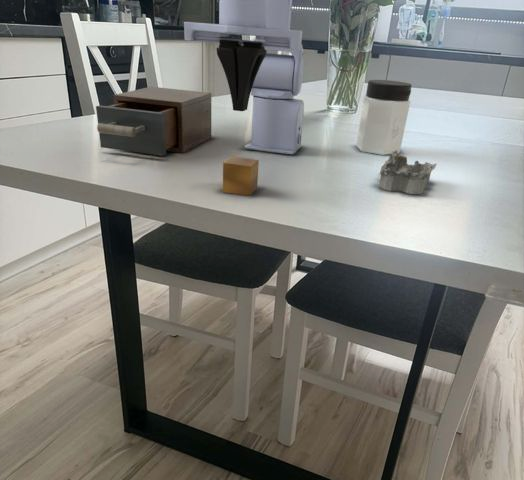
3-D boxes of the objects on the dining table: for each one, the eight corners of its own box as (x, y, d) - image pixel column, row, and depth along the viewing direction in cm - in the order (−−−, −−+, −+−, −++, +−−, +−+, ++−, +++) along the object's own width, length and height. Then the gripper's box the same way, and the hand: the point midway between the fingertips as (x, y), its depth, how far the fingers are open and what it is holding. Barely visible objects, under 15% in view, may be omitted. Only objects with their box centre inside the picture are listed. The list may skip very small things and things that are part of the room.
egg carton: (389, 174, 82) (394, 148, 80) (433, 182, 79) (440, 156, 77) (372, 188, 74) (377, 160, 72) (420, 198, 71) (428, 169, 69)
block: (257, 188, 71) (258, 159, 68) (249, 196, 67) (250, 166, 65) (231, 184, 71) (232, 156, 69) (222, 192, 68) (222, 162, 66)
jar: (375, 156, 92) (389, 85, 85) (347, 147, 98) (357, 79, 91) (407, 152, 96) (422, 85, 90) (379, 144, 102) (391, 79, 95)
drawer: (150, 162, 75) (147, 118, 72) (85, 153, 78) (79, 110, 74) (193, 140, 90) (193, 103, 86) (138, 133, 92) (135, 96, 89)
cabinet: (183, 153, 85) (181, 102, 81) (118, 144, 87) (113, 94, 83) (211, 138, 97) (211, 92, 92) (154, 130, 99) (151, 86, 95)
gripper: (171, -26, 54) (176, 108, 62) (298, -19, 51) (286, 120, 59) (195, -21, 60) (197, 101, 67) (310, -14, 57) (298, 112, 65)
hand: (240, 109), depth 64 cm, fingers closed
